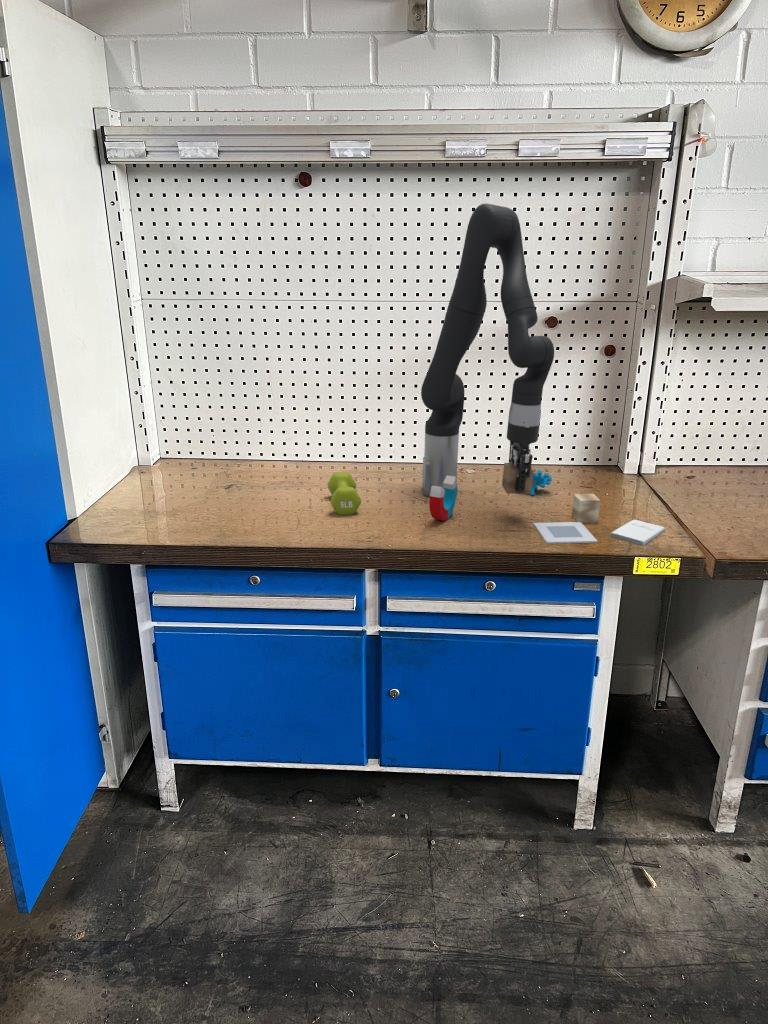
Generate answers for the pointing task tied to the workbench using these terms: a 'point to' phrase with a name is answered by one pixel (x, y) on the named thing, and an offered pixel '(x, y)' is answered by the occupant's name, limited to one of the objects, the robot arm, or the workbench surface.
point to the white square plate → (565, 532)
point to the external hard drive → (637, 532)
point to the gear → (540, 481)
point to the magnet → (443, 499)
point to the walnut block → (510, 479)
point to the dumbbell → (343, 493)
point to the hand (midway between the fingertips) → (516, 486)
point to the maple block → (585, 508)
